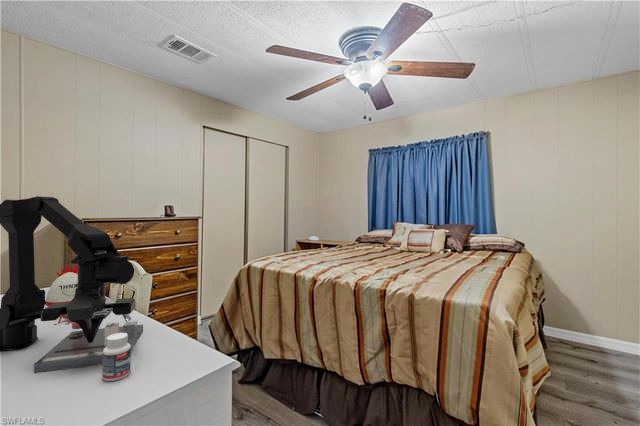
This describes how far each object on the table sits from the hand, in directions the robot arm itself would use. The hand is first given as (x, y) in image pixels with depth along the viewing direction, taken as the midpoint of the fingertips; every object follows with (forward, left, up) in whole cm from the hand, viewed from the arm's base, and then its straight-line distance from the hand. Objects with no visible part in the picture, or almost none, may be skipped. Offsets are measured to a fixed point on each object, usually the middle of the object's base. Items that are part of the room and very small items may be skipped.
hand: (90, 342), depth 78 cm
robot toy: (-15, +35, -4) cm, 38 cm away
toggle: (+6, +10, +2) cm, 12 cm away
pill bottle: (+9, -13, -4) cm, 16 cm away
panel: (0, +4, -3) cm, 5 cm away
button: (-5, +10, +1) cm, 11 cm away
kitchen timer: (-26, +58, -4) cm, 64 cm away
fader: (+5, 0, -1) cm, 5 cm away
